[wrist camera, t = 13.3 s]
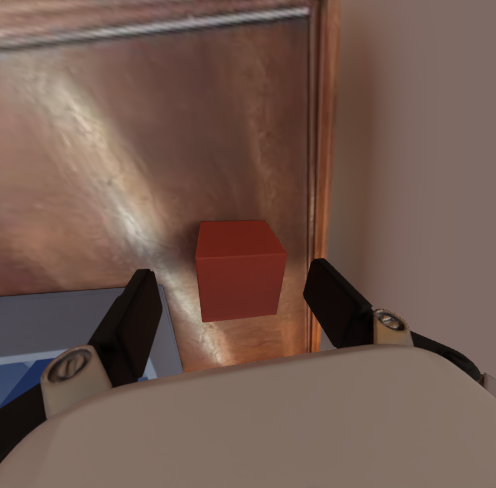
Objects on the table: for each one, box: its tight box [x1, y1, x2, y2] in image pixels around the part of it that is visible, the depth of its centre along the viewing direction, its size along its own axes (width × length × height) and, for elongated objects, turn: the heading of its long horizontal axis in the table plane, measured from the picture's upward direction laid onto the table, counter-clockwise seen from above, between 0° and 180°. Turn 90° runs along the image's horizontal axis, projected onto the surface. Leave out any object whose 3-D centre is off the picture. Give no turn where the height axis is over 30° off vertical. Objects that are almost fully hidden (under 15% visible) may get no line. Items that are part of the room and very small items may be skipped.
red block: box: [195, 220, 287, 322], centre depth 11 cm, size 4×4×4 cm
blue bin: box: [0, 285, 183, 404], centre depth 14 cm, size 12×12×4 cm
